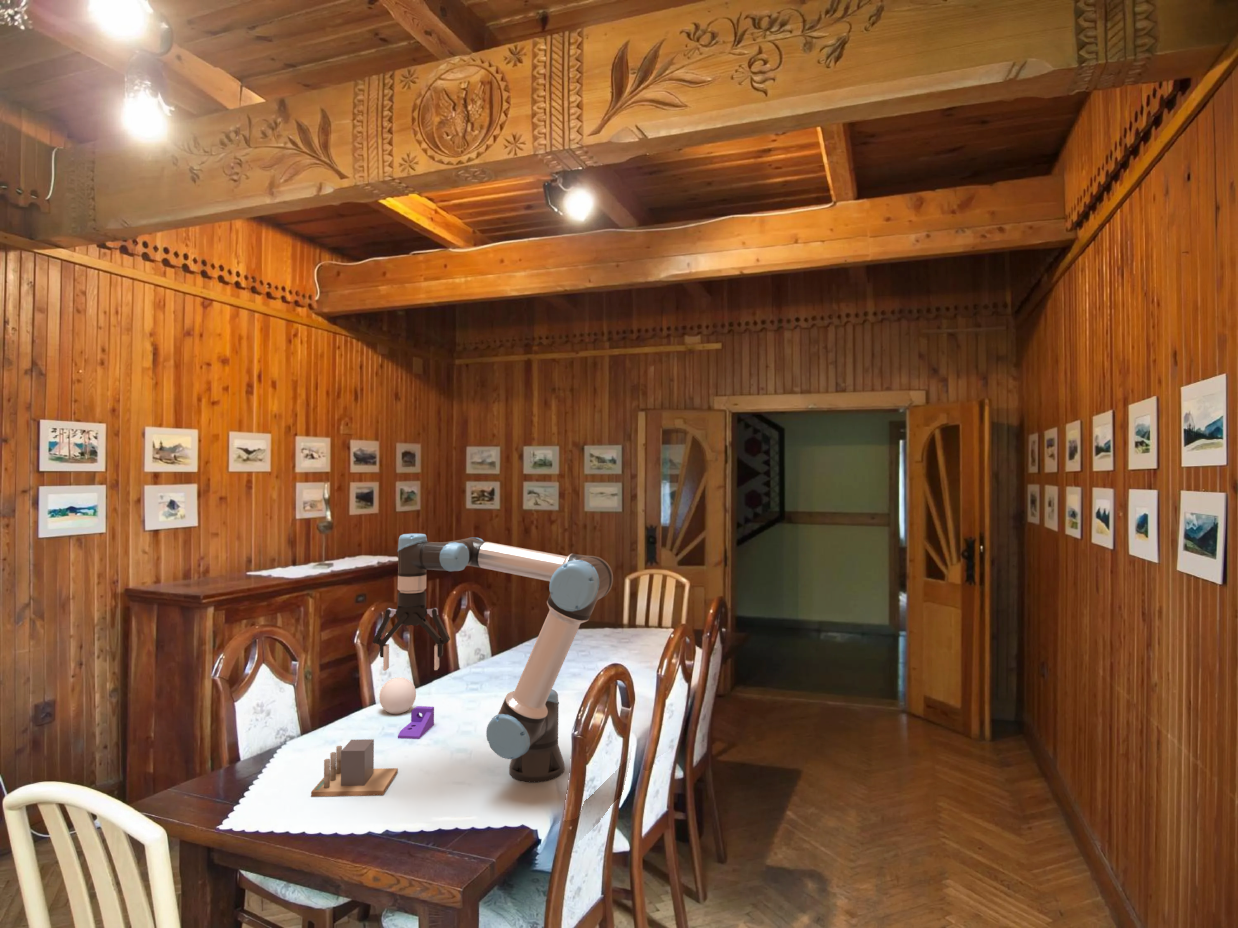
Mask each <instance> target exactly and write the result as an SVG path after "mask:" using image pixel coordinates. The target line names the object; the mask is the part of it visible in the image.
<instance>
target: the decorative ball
mask: <svg viewBox="0 0 1238 928" xmlns="http://www.w3.org/2000/svg"><path fill="white" fill-rule="evenodd" d="M416 697H417V691H416V686H415V685H414V683H413V682H412V681H410V680H409V679H408V678H405V677H395V678H391V679H389V680H388V681H386V682H384V684H383V686H382V687H381V689H380V692H379V704H380V706H381V707H382V709H383V710H384V711H385V712H387V713H388V714H393V715H399V714H403V713H406V712H408V711H409V710H410V709H411V707H413V705H414V703H415V701H416Z"/></svg>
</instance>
